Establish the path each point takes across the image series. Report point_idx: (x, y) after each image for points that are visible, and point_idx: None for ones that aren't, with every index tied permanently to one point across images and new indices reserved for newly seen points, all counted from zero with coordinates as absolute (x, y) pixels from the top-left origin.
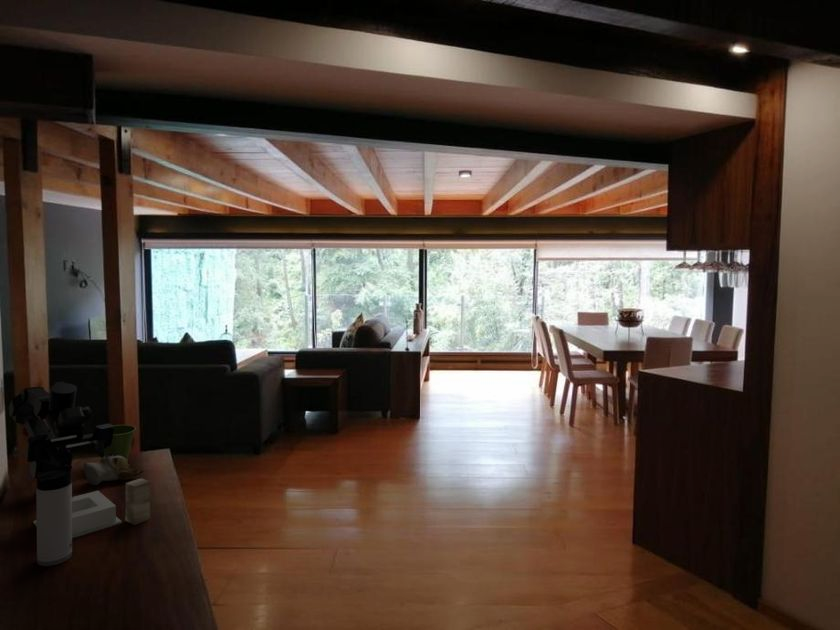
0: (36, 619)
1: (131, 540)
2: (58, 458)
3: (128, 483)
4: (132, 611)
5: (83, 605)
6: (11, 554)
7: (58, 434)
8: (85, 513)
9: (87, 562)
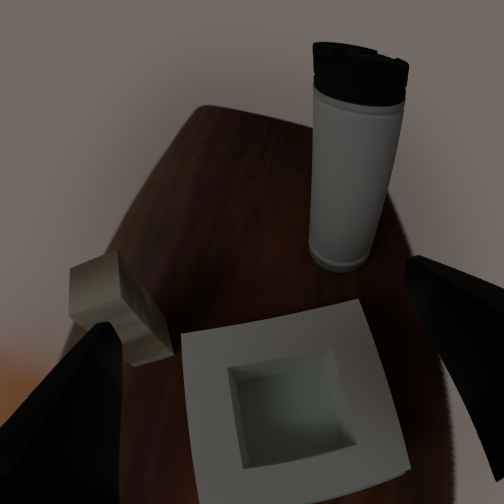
0: None
1: (195, 252)
2: (445, 276)
3: (116, 288)
4: (247, 120)
5: (291, 138)
6: None
7: None
8: (272, 325)
9: (282, 212)
